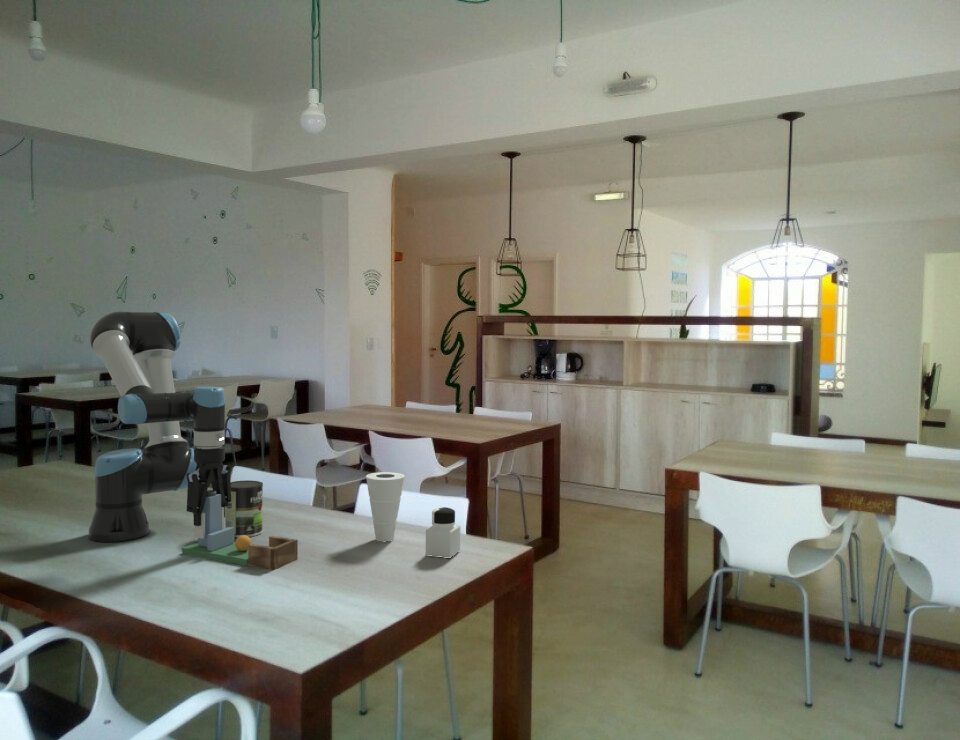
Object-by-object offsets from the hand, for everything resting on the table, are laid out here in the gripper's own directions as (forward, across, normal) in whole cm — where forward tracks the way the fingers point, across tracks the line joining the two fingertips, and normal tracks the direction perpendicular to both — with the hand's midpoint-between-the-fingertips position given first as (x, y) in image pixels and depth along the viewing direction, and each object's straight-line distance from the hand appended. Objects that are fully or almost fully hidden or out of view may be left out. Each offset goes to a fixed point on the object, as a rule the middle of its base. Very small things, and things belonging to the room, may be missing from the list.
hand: (209, 534), depth 192 cm
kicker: (+3, 0, -1) cm, 3 cm away
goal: (+4, 0, -20) cm, 21 cm away
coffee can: (+5, +17, +4) cm, 18 cm away
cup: (+5, +29, -36) cm, 46 cm away
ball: (+1, 0, -11) cm, 11 cm away
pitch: (+4, 0, -6) cm, 7 cm away
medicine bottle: (+5, +25, -56) cm, 61 cm away
